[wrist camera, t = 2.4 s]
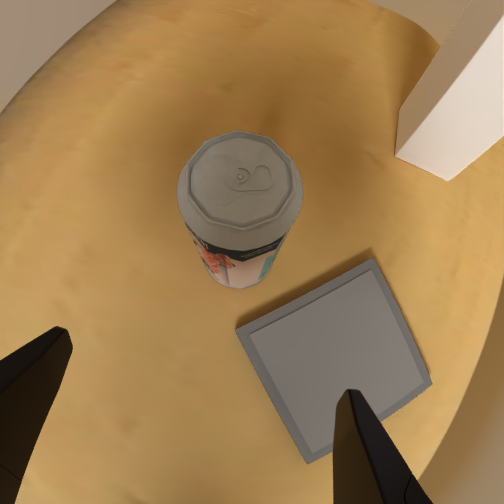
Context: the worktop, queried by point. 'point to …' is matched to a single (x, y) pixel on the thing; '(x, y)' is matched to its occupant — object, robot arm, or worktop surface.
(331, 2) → the worktop surface
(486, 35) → the milk
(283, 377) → the trivet
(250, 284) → the beer can
